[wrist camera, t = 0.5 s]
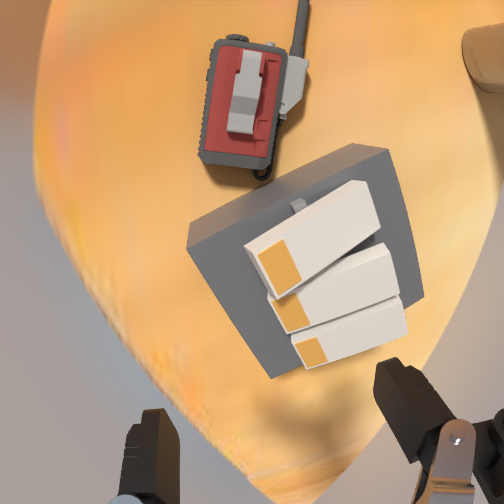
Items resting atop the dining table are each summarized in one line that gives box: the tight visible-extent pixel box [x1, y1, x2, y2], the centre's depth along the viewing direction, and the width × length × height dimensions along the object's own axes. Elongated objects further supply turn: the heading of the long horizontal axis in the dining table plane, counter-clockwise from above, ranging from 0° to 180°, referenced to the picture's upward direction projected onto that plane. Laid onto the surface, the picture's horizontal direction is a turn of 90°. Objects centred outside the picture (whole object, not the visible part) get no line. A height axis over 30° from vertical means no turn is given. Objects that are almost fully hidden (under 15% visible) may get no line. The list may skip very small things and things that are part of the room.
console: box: [186, 143, 424, 379], centre depth 29 cm, size 18×16×8 cm
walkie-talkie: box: [198, 0, 310, 181], centre depth 24 cm, size 9×4×20 cm
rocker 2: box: [291, 294, 408, 370], centre depth 27 cm, size 10×4×2 cm, turn 116°
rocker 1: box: [267, 242, 400, 334], centre depth 25 cm, size 10×4×2 cm, turn 116°
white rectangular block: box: [244, 180, 381, 300], centre depth 23 cm, size 10×4×2 cm, turn 116°
